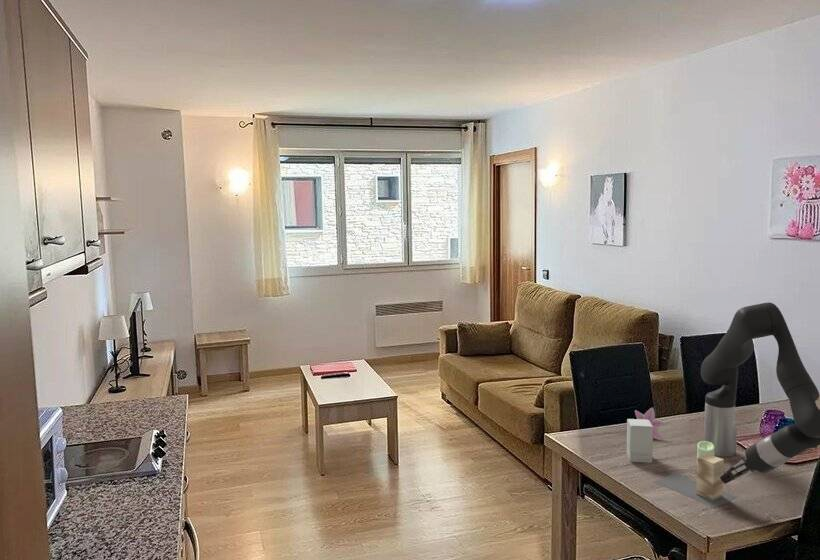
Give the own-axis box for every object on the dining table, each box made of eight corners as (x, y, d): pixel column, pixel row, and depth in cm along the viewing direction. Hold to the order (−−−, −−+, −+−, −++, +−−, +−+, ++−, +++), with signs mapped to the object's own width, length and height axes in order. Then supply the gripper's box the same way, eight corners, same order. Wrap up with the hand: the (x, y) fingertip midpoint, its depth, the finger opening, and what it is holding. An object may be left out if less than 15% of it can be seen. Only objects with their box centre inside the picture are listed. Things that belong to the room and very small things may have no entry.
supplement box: (652, 463, 201) (653, 426, 200) (629, 461, 203) (629, 425, 201) (648, 454, 208) (649, 419, 207) (626, 453, 210) (626, 418, 208)
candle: (713, 472, 193) (714, 447, 192) (696, 469, 196) (696, 445, 195) (714, 466, 198) (715, 442, 197) (697, 463, 200) (698, 439, 199)
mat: (736, 499, 175) (736, 497, 175) (714, 509, 169) (714, 507, 169) (674, 474, 192) (674, 472, 192) (652, 483, 186) (652, 481, 186)
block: (722, 496, 176) (723, 459, 174) (712, 501, 173) (713, 463, 172) (706, 490, 180) (707, 453, 179) (696, 494, 177) (697, 457, 176)
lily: (622, 438, 226) (629, 421, 220) (629, 418, 235) (636, 401, 229) (655, 452, 222) (663, 435, 216) (660, 430, 230) (668, 413, 225)
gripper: (772, 435, 166) (727, 462, 178) (746, 446, 159) (701, 473, 171) (792, 460, 162) (745, 486, 174) (766, 472, 155) (718, 498, 167)
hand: (723, 480), depth 173 cm, fingers closed
